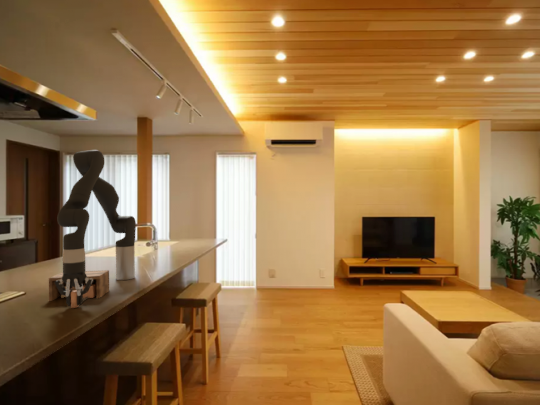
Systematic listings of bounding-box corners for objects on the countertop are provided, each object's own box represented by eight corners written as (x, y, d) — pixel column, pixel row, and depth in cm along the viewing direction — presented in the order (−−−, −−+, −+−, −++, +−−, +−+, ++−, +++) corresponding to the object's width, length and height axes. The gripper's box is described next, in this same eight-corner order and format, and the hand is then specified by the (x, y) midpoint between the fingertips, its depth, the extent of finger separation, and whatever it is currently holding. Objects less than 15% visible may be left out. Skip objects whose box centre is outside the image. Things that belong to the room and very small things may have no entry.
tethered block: (85, 295, 142) (85, 281, 142) (97, 294, 143) (97, 280, 143) (66, 308, 124) (66, 292, 124) (80, 307, 125) (79, 291, 125)
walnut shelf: (62, 292, 146) (62, 272, 146) (109, 290, 149) (109, 270, 149) (49, 300, 135) (48, 278, 135) (99, 298, 138) (99, 276, 138)
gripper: (97, 258, 131) (97, 301, 131) (59, 259, 129) (59, 303, 129) (89, 261, 123) (90, 307, 123) (49, 262, 121) (49, 309, 121)
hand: (74, 304), depth 126 cm, fingers closed on tethered block, 2 cm apart
